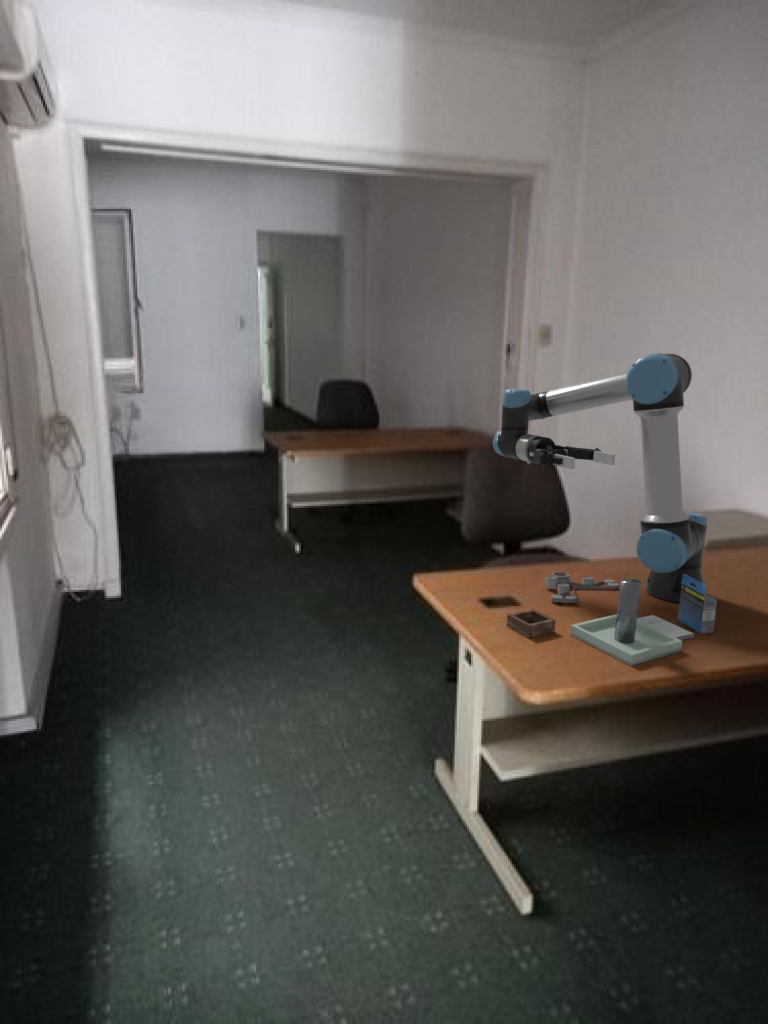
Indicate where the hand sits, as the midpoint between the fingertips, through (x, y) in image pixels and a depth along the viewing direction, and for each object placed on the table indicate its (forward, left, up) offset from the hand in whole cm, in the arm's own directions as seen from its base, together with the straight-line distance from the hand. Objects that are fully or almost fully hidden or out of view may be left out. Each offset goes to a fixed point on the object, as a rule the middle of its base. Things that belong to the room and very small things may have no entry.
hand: (594, 461), depth 173 cm
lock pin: (+8, +22, -37) cm, 44 cm away
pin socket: (+22, +6, -38) cm, 44 cm away
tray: (+8, +22, -38) cm, 44 cm away
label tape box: (-15, +23, -38) cm, 47 cm away
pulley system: (-7, -10, -39) cm, 41 cm away
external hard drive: (-6, +20, -39) cm, 44 cm away
